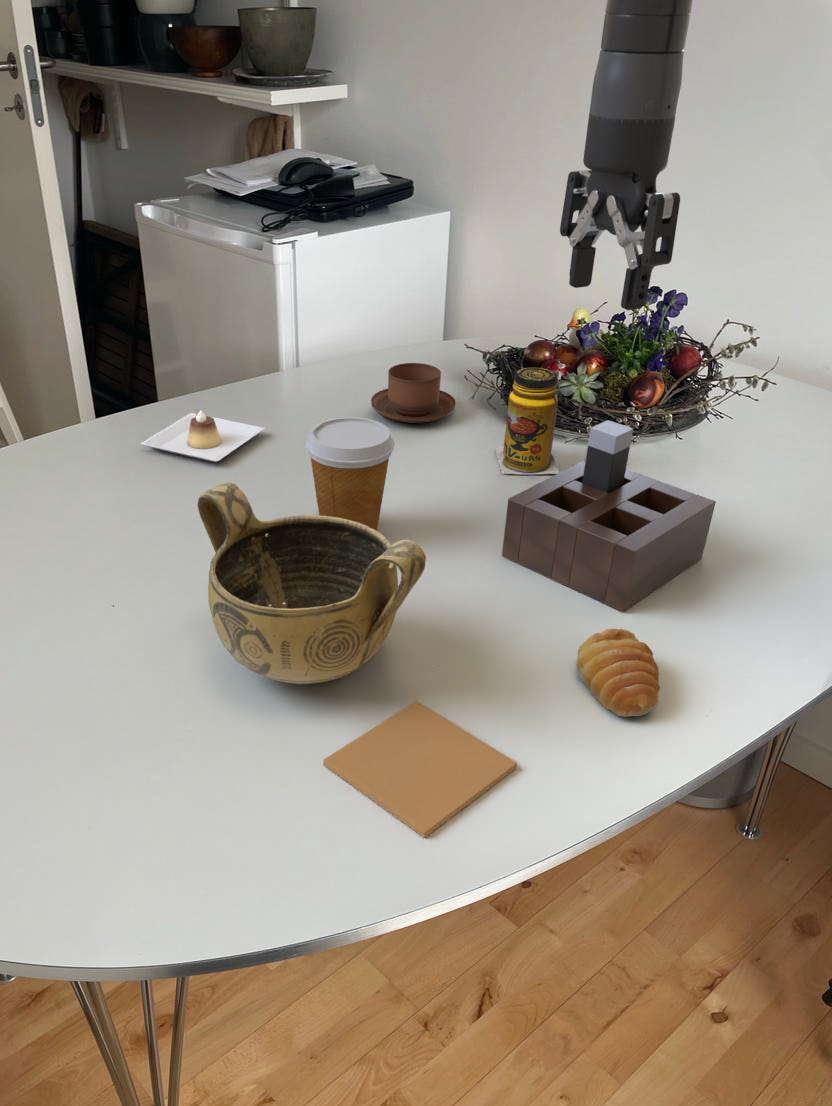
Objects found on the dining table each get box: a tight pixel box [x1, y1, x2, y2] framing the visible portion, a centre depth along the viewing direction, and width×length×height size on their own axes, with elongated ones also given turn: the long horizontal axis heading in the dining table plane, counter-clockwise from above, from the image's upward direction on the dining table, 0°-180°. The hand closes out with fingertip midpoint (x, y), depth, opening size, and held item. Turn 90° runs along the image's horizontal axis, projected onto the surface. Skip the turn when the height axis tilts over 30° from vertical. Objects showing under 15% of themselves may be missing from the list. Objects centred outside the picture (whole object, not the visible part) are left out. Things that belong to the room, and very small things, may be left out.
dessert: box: [140, 409, 266, 463], centre depth 128 cm, size 12×12×5 cm
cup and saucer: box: [370, 362, 457, 424], centre depth 137 cm, size 12×12×6 cm
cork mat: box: [322, 700, 518, 838], centre depth 78 cm, size 11×11×1 cm
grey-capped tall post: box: [582, 419, 634, 494], centre depth 105 cm, size 3×3×13 cm
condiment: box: [494, 366, 561, 475], centre depth 122 cm, size 7×8×12 cm
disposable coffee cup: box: [304, 416, 395, 531], centre depth 106 cm, size 10×10×12 cm
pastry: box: [576, 628, 661, 718], centre depth 85 cm, size 9×7×4 cm
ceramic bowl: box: [197, 481, 427, 685], centre depth 85 cm, size 22×17×15 cm
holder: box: [501, 459, 717, 613], centre depth 103 cm, size 15×15×7 cm
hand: (604, 297), depth 95 cm, fingers open, 8 cm apart
